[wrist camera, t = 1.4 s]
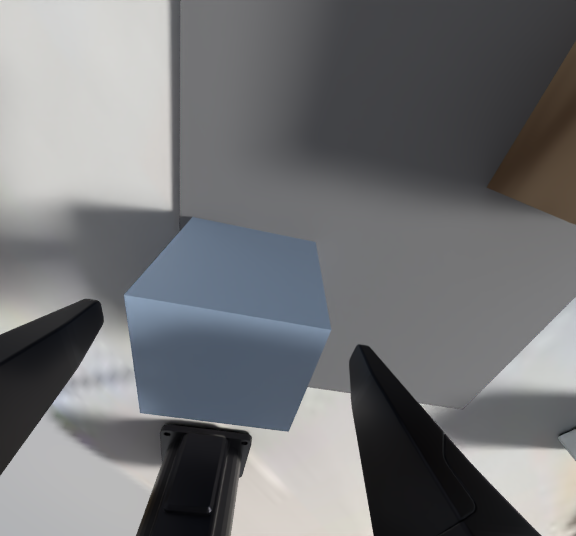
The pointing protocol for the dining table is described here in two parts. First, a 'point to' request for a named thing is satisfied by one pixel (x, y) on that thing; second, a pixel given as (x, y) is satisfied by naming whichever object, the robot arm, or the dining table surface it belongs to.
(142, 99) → the dining table surface
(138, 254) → the dining table surface
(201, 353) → the cube
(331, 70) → the placemat
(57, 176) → the dining table surface
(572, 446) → the skincare box
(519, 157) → the tower base
